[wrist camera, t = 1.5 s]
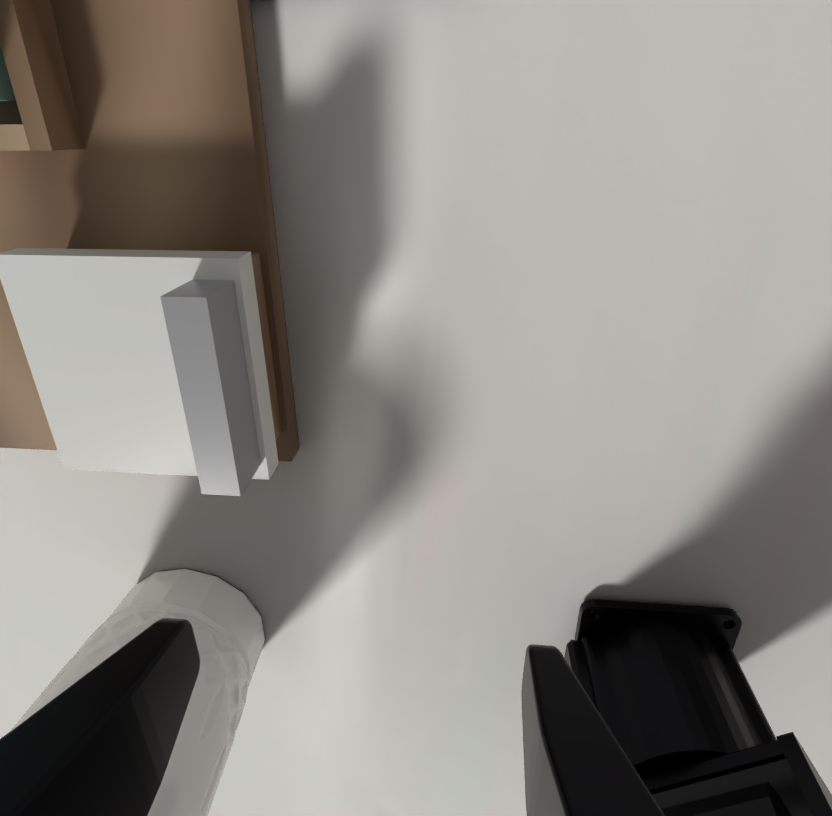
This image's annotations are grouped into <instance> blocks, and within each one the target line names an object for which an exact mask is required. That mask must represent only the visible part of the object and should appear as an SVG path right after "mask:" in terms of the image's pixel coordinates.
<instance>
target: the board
mask: <svg viewBox="0 0 832 816" xmlns="http://www.w3.org/2000/svg"><path fill="white" fill-rule="evenodd" d="M0 45H1V48H2V52H3V56H4V59H5V63H6V66H7V70H8V73H9V77H10V80H11V84H12V88H13V91H14V95H15V98H16V102H0V252H4V251H8V250H12V249H15V248H55V249H120V250H185V251H251V257H252V265H253V272H254V280H255V287H256V295H257V303H258V310H259V318H260V325H261V333H262V341H263V348H264V356H265V363H266V371H267V379H268V386H269V394H270V401H271V409H272V417H273V424H274V432H275V440H276V447H277V455H278V461H292V460H293V458H294V457H295V455H296V453H297V451H298V449H299V441H298V432H297V423H296V414H295V405H294V396H293V387H292V378H291V369H290V360H289V351H288V342H287V333H286V324H285V315H284V306H283V297H282V288H281V279H280V270H279V261H278V252H277V243H276V234H275V225H274V215H273V206H272V197H271V188H270V179H269V170H268V161H267V152H266V143H265V134H264V125H263V116H262V107H261V98H260V89H259V80H258V71H257V62H256V53H255V44H254V35H253V26H252V17H251V8H250V0H0ZM0 447H1V448H22V449H43V450H57V448H56V445H55V442H54V439H53V436H52V433H51V430H50V427H49V424H48V421H47V418H46V415H45V412H44V409H43V406H42V403H41V400H40V397H39V394H38V391H37V388H36V385H35V382H34V379H33V376H32V373H31V370H30V367H29V364H28V361H27V358H26V355H25V352H24V349H23V346H22V343H21V340H20V337H19V334H18V331H17V328H16V325H15V322H14V319H13V316H12V313H11V310H10V307H9V304H8V301H7V298H6V295H5V292H4V289H3V286H2V283H1V280H0Z"/></svg>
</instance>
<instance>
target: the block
mask: <svg viewBox="0 0 832 816" xmlns="http://www.w3.org/2000/svg"><path fill="white" fill-rule="evenodd" d="M0 102H16V98H15V95H14V91H13V88H12V84H11V80H10V77H9V73H8V70H7V66H6V63H5V59H4V56H3V52H2V48H1V45H0Z"/></svg>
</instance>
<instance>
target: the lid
mask: <svg viewBox="0 0 832 816" xmlns="http://www.w3.org/2000/svg"><path fill="white" fill-rule="evenodd" d="M0 280H1V283H2V286H3V289H4V292H5V295H6V298H7V301H8V304H9V307H10V310H11V313H12V316H13V319H14V322H15V325H16V328H17V331H18V334H19V337H20V340H21V343H22V346H23V349H24V352H25V355H26V358H27V361H28V364H29V367H30V370H31V373H32V376H33V379H34V382H35V385H36V388H37V391H38V394H39V397H40V400H41V403H42V406H43V409H44V412H45V415H46V418H47V421H48V424H49V427H50V430H51V433H52V436H53V439H54V442H55V445H56V448H57V451H58V454H59V457H60V460H61V463H62V466H63V469H67V470H87V471H107V472H127V473H146V474H166V475H186V476H198V479H199V484H200V489H201V494H209V495H228V496H241V495H242V493H243V491H244V490H245V488H246V487H247V485H248V484H249V482H250V481H251V479H265V480H269V479H270V478H271V476H272V474H273V472H274V471H275V469H276V467H277V466H278V464H279V462H278V455H277V447H276V440H275V432H274V424H273V417H272V409H271V401H270V394H269V386H268V379H267V371H266V363H265V356H264V348H263V341H262V333H261V325H260V318H259V310H258V303H257V295H256V287H255V280H254V272H253V265H252V257H251V251H185V250H120V249H55V248H15V249H12V250H8V251H4V252H0Z"/></svg>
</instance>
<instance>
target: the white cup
mask: <svg viewBox="0 0 832 816" xmlns="http://www.w3.org/2000/svg"><path fill="white" fill-rule="evenodd" d="M162 618H176V619H186V620H188V621H189V622H190V623H191V624H192V627H193V631H194V635H195V639H196V643H197V647H198V651H199V655H200V669H199V674H198V677H197V680H196V683H195V686H194V689H193V692H192V695H191V698H190V701H189V704H188V707H187V710H186V713H185V716H184V719H183V722H182V724H181V727H180V730H179V733H178V736H177V739H176V742H175V745H174V748H173V751H172V754H171V757H170V760H169V763H168V766H167V769H166V771H165V774H164V777H163V780H162V782H161V785H160V787H159V790H158V792H157V795H156V797H155V799H154V802H153V804H152V806H151V809H150V811H149V813H148V815H147V816H208V813H209V810H210V807H211V804H212V801H213V798H214V796H215V793H216V790H217V787H218V784H219V781H220V778H221V776H222V773H223V770H224V767H225V764H226V761H227V758H228V756H229V753H230V750H231V747H232V744H233V741H234V737H235V733H236V730H237V727H238V724H239V721H240V718H241V715H242V712H243V708H244V705H245V703H246V695H247V689H248V686H249V683H250V681H251V678H252V675H253V672H254V670H255V667H256V664H257V661H258V659H259V656H260V653H261V650H262V647H263V645H264V641H265V637H264V631H263V624H262V618H261V615H260V614H259V613H258V611H257V610H256V609H255V607H254V606H253V605H252V603H251V602H250V601H249V599H248V598H247V597H246V595H245V594H244V593H242V592H241V591H239V590H237V589H236V588H234V587H233V586H231V585H230V584H228V583H226V582H225V581H223V580H222V579H220V578H218V577H216V576H212V575H208V574H204V573H200V572H196V571H192V570H188V569H179V570H170V571H161V572H155V573H153V574H152V575H150V576H149V577H147V578H146V579H144V580H143V581H141V582H140V583H138V584H137V585H135V586H134V587H133V588H132V589H131V591H130V592H129V593H128V594H127V595H126V597H125V598H124V599H123V600H122V602H121V603H120V604H119V605H118V607H117V608H116V609H115V610H114V612H113V613H112V614H111V615H110V617H109V618H108V619H107V620H106V621H105V622H104V623H103V624H102V625H101V626H100V627H99V628H98V629H97V630H96V631H95V632H94V633H93V634H92V635H91V636H90V637H89V638H88V639H87V640H86V642H85V643H84V644H83V645H82V647H81V648H80V649H79V651H78V652H77V653H76V655H75V656H74V657H73V658H72V659H71V660H70V661H69V662H68V663H67V664H66V665H65V666H64V667H63V668H62V669H61V671H60V672H59V673H58V674H57V675H56V676H55V678H54V679H53V680H52V681H51V682H50V684H49V685H48V686H47V687H46V688H45V690H44V691H43V692H42V693H41V695H40V696H39V697H38V698H37V699H36V701H35V702H34V703H33V704H32V705H31V707H30V708H29V709H28V710H27V711H26V713H25V714H24V715H23V716H22V717H21V719H20V720H19V721H18V722H17V724H16V725H15V726H14V727H13V728H12V730H13V729H14V728H16V727H17V726H18V725H19V724H21V723H22V722H23V721H25V720H26V719H27V718H29V717H30V716H31V715H33V714H34V713H35V712H37V711H38V710H39V709H41V708H42V707H43V706H45V705H46V704H47V703H49V702H50V701H51V700H53V699H54V698H55V697H57V696H58V695H59V694H61V693H62V692H63V691H65V690H66V689H67V688H68V687H70V686H71V685H72V684H74V683H75V682H76V681H78V680H79V679H80V678H82V677H83V676H84V675H86V674H87V673H88V672H90V671H91V670H92V669H94V668H95V667H96V666H98V665H99V664H100V663H102V662H103V661H104V660H106V659H107V658H108V657H110V656H111V655H112V654H113V653H115V652H116V651H117V650H119V649H120V648H121V647H123V646H124V645H125V644H127V643H128V642H129V641H131V640H132V639H133V638H135V637H136V636H137V635H139V634H140V633H141V632H143V631H144V630H145V629H147V628H148V627H149V626H151V625H152V624H153V623H155V622H156V621H158V620H160V619H162ZM12 730H11V731H12Z"/></svg>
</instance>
